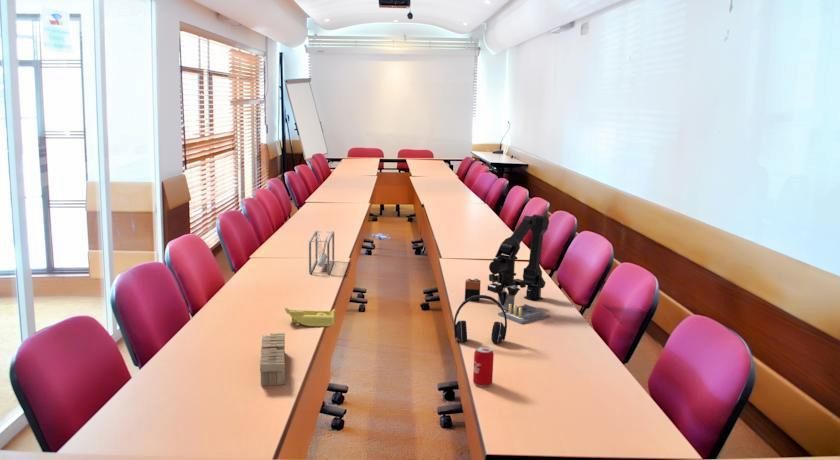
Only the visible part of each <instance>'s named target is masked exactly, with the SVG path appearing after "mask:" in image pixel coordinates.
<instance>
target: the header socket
mask: <svg viewBox="0 0 840 460" xmlns="http://www.w3.org/2000/svg"><path fill="white" fill-rule="evenodd" d="M504 311H505V314H506V318H507V320H510V321H512V322H515V323H518V324H520V325H524V324H527V323H531V322H535V321H540V320H543V319H547V318H550V315H551V314H549V313H545V312H543V309H540V308H537V307H535V306H531V305H529V304H526V303H525V304H523V305H520V306H517V305H514V308H512V304H509V310H504ZM497 316H499V317H503V318H504V319H505V317H504V314H503V311H501V312H498V313H497Z"/></svg>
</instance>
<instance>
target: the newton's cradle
mask: <svg viewBox="0 0 840 460" xmlns="http://www.w3.org/2000/svg"><path fill="white" fill-rule="evenodd" d="M314 238H315V239H314ZM312 243H314V245H315V256H314V257H315V259H314V262H313V264H312ZM319 243H324V244H323V247H322V244H320V245H318V244H319ZM330 243H331V244H332V245H331V247H332V248H331V249H332V250H331V259H332V260H330ZM320 248H322V249H321V250H318V249H320ZM326 248H327V249H326ZM318 255H319V256H318ZM318 257H319V258H318ZM334 262H335V231H334V230H332V231H328V233H327V234H326V236H325V239H324V240H323V238H321V231H317V230H315V231H314V233H313V234H312V236H311V237H310V240H308V273H309V274H311V275H312V274H327V275H329V274H331V273H330V272H331V270H332V267H333V265H334ZM325 263H326V269H327V271H326V272H321V271H317V272H315V271H314V269H315V266H316V265H317V266H318V268H323V267H324V265H325ZM313 271H314V272H313Z"/></svg>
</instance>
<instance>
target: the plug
mask: <svg viewBox="0 0 840 460" xmlns="http://www.w3.org/2000/svg"><path fill="white" fill-rule="evenodd" d="M515 297H516V295H515V296H514V295H511V294H508V292H507V295H506V299H505V303H504V305H501V306H502V308H503V309H504V311H509V304H512V308H514V306H515ZM497 299H498V300H497V301H498V302H499V303H500V304H501V302H500V299H499V296H498V298H497ZM497 307H498V308H500V307H499V306H498V305H497Z"/></svg>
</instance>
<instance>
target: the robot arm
mask: <svg viewBox="0 0 840 460" xmlns="http://www.w3.org/2000/svg"><path fill="white" fill-rule="evenodd" d="M549 224H550V219H549V217H548V216H546V215H540V214H533V215H531V216H529V215H524V216H523V218H522V220H521V222H520V223H519V225H517V228H516V229H515V230H514V232H513V233H512V234H511V236H509V237H507V238H505V239H504V240H503V241H502V242H501V244H500V246H499V247H498V250H497V252H496V254H495V257H494V258H493V259H492V260H493V261H491V262H489V266H488V269H489V272H490V274H488V281H490V282H491V283H489V284H487V291H489V292H492V293H494V294H497V295H498V296H499V299H500V302H501V305H504V303H505V299H506V295H507V293H508V294H511V295H514V296H515V297H516V295H517V293H519V291H521V289H523V288H524V289H525V288H526V287H527V288H526V292H525V293H526V295H524V296H523V298H524V299H526V300H530V301H532V302H535V301H540V300H543V299H544V297H542V289H544V288H545V286H546V281H545V279H544V277H543V271H542V269H541V266H540V264H541V254H542V249H543V248H542V247H543V239H544V235H545V233H546V232H547V231H548V228H549ZM529 232H531V243H530V250H529V251H530V252H529V260H528V264H527V266H526V267H524V268H523V271H522V272H523V273H522V279H521V278H515V276H517V272H515V266H516V265H515V263H516V260H518V257H517V254H518V253H519V251H520V248H521V245H520V244H521V242H522V241H523V240H524V238H525V237H526V235H527V234H528V233H529ZM519 287H520V288H519ZM506 289H507V290H506Z"/></svg>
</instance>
